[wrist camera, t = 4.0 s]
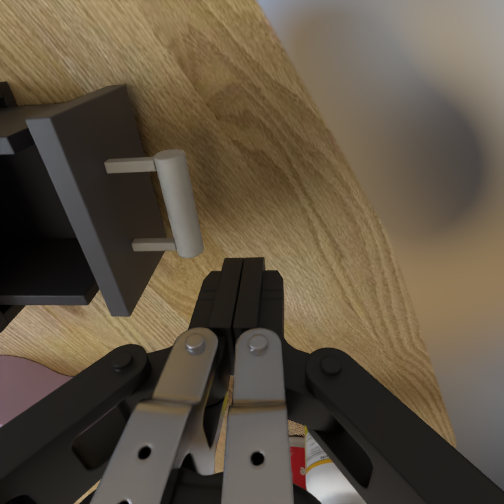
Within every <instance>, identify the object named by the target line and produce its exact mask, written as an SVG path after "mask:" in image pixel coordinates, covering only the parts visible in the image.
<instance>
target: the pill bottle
mask: <svg viewBox="0 0 504 504" xmlns="http://www.w3.org/2000/svg"><path fill="white" fill-rule="evenodd" d="M289 444H290V457H291V470H292V482H293V483H294V484H296V485H298V486H300V487H302V488H304V489H305V490H307V489H306V470H305V438H303V437H289Z"/></svg>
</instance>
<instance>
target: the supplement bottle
mask: <svg viewBox="0 0 504 504" xmlns="http://www.w3.org/2000/svg"><path fill="white" fill-rule="evenodd" d="M304 437H305V470H306V489H307V491H308V492H309V493H311V494H312V495H313V496H315V497H316V498H317V499H318V500H319V501H320V502H321V503H322V504H366V502H365V501H364V500H363V499H362V497H361V496H360V495H359V494H358V493H357V491H356V490H355V489H354V488H353V486H352V485H351V484H350V483H349V481H348V480H347V479H346V478H345V477H344V475H343V474H342V473H341V472H340V470H339V469H338V468H337V467H336V466H335V464H334V463H333V462H332V461H331V459H330V458H329V457H328V456H327V454H326V453H325V452H324V451H323V450H322V448H321V447H320V446H319V445H318V443H317V442H316V441H315V440H314V438H313V437H312V436H311V435H310V433H309V432H308V430H307V428H306V426H304Z"/></svg>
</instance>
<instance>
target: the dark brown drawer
mask: <svg viewBox="0 0 504 504" xmlns="http://www.w3.org/2000/svg"><path fill="white" fill-rule="evenodd" d="M156 170H157V174H158V178H159V182H160V185H161V189H162V193H163V197H164V201H165V205H166V209H167V213H168V217H169V221H170V225H171V229H172V233H173V237H174V238H167V237H166V233H165V230H164V226H163V222H162V218H161V215H160V211H159V207H158V203H157V200H156V196H155V192H154V188H153V185H152V181H151V177H150V173H149V172H150V171H156ZM176 249H177V253H178V255H179V256H181V257H183V258H192V257H195V256H198V255H199V254H201V253H202V252H203V249H204V246H203V241H202V236H201V231H200V226H199V221H198V216H197V211H196V206H195V201H194V195H193V190H192V185H191V180H190V175H189V170H188V165H187V160H186V155H185V152H184V151H183V150H180V149H169V150H164V151H161V152H158V153H157V154H155V155H154V157H145V155H144V151H143V147H142V143H141V140H140V136H139V132H138V128H137V125H136V121H135V117H134V113H133V110H132V106H131V102H130V98H129V95H128V91H127V87H126V85H113V86H107V87H104V88H101V89H99V90H96V91H94V92H91V93H89V94H86V95H84V96H81V97H79V98H76V99H74V100H71V101H69V102H66V103H58V104H44V105H31V106H18V107H5V108H0V305H89V303H90V302H91V301H92V299H93V298H94V296H95V295H96V293H97V292H98V291H99V289H100V291H101V293H102V295H103V298H104V300H105V302H106V304H107V307H108V309H109V311H110V313H111V316H125V317H129V316H131V314H132V312H133V310H134V308H135V306H136V304H137V303H138V301H139V299H140V297H141V295H142V293H143V291H144V289H145V288H146V286H147V284H148V282H149V280H150V278H151V276H152V274H153V273H154V271H155V269H156V267H157V265H158V263H159V261H160V259H161V258H162V256H163V254H164V252H165V251H176Z"/></svg>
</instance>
